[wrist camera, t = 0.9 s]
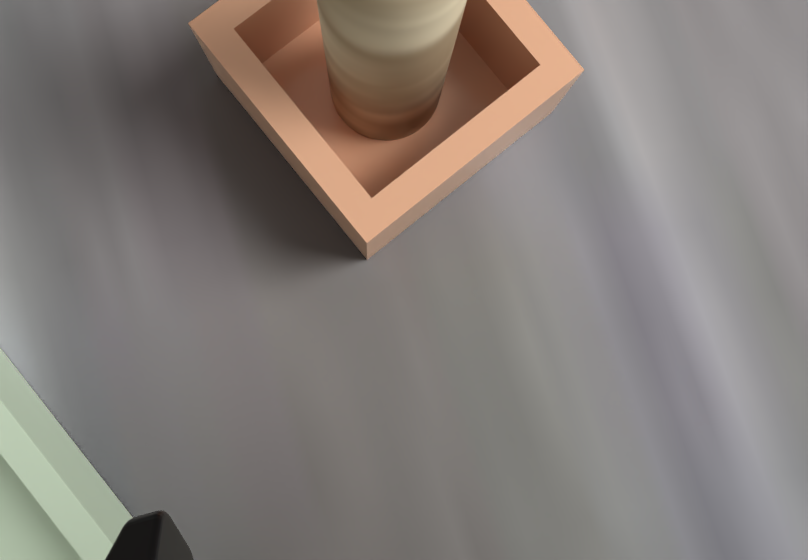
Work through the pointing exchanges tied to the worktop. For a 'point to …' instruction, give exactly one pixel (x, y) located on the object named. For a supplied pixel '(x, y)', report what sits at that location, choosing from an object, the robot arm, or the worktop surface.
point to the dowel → (388, 61)
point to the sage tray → (48, 484)
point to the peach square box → (395, 159)
